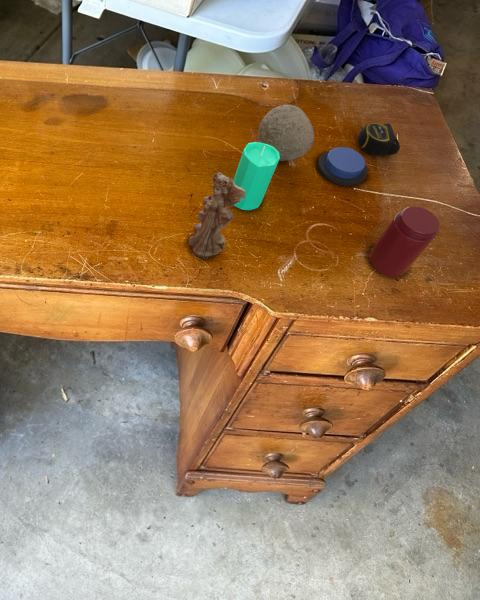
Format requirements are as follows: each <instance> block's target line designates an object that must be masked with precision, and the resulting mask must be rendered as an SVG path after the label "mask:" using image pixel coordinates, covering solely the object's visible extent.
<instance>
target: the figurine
mask: <svg viewBox="0 0 480 600" xmlns="http://www.w3.org/2000/svg"><path fill="white" fill-rule="evenodd" d="M233 180H234V178H230V176H226V175H224V174H223V173H222V172H220V171H219V172H217V173H214V174H213V176H212V180H211V182H212V184H213V190H212V192H213V193H211V194H210V195H208V196H204V197H203V201H202V205H203V209H201V210H199V211H198V212H197V214H198V216H197V220H198V221H199V222H197V223H195V224H194V225H193V231H194V235H191V236H189V237H188V243H189V244H188V245H189V246H191V250H192V252H193V253H194V255H196V256H197V257H199V258H202V259H208V258H212V257H213V256H216V255H217V254H219V253H223V249H224V248H225V247H226V242H225V241H226V238H225V236H224V235H222V233H221V232H220V231H222V230H224V229H225V228H226V227H227V226H228V224H229V223H230V222H231V221H233V220H234V213H233V212H232V211H231V210H230V209H232V208H233V207H235V206H234V205H235V204H236V203H239V202H240V201H241V198H244V197H245V196H246V193H245V192H246V191H245V190H244V189H243V188H242V187H241V188H240V187H238V186H237V185H235V182H233ZM227 207H228V208H227Z"/></svg>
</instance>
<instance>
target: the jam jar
mask: <svg viewBox="0 0 480 600" xmlns="http://www.w3.org/2000/svg"><path fill="white" fill-rule="evenodd" d="M439 229H440V221H439V219H438V217H437V216H436V215H435V214H434V213H433V212H432V211H430V210H428V209H426V208H425V207H421V206H417V205H416V206H414V205H413V206H412V205H411V206H406V207H404V208H403V209H402V210H401V211H400V212H398V213H397V214H395V217H394V218H393V219H392V220H391V222H390V223H389V224H388V226H387V227H386V229H385V230H384V232H383V233H382V234H381V235H380V237H379V239H378V240H377V241H376V243H375V244H374V246H373V247H372V249H371V250H370V251H369V252H368V261H369V263H370V265H371V267H372V268H373V269H374V270H376V271H377V272H379V273H380V274H382V275H384V276H387V277H401V276H403V275H405V274H406V273H407V272H408V270H409V269H410V268H411V267H412V266H413V264H414V263H415V262H416V261H417V260H418V258H420V256H421V255H422V254H423V252H424V251H425V250H426V249H427V247H428V246H429V245H430V244H431V243H432V242H433V240H434V239H435V238H436V237H437V234H438V231H439Z"/></svg>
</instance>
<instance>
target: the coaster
mask: <svg viewBox="0 0 480 600" xmlns="http://www.w3.org/2000/svg"><path fill="white" fill-rule="evenodd" d="M330 151H331V150H328V151H325V152H323V153H322V154H321V155H320V156H319V159H318V160H317V169H318V171H319V173H320V174H321V176H322V177H324V179H326V180H328V182H331V183H333V184H335V185H339V186H343V187H353V186H357V185H359V184H361V183H363V182H364V181H365V179H366V178H367V176H368V167H367V165H366V164H365V166H364V169H363V171H362V172H361V174H360V175H359V176H357V177H355V178H351V179H346V178H340V177H338V176H335V175H333V174H332V173H331V172H329V171H328V169H327V168H326V166H325V158H326V156H327V154H328V153H329V152H330Z"/></svg>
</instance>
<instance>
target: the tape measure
mask: <svg viewBox="0 0 480 600" xmlns="http://www.w3.org/2000/svg"><path fill="white" fill-rule="evenodd" d="M357 143H358V146H359V147H360V148H361V150H362V151H363V152H365V153H367V154H369V155H372V156H377V157H380V156H392V155H396V154H397V153H398V152H399V150H400V149H401V145H400V142H399V140H398V138H397V136H396V134H395V132H394V129H393V126H392V125H391V123H389V122H388V123H387V122H386V123H385V122H384V123H381V122H370V123H368V124H365V126H363V127H362V128H361V129H360V131H359V133H358V135H357Z"/></svg>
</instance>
